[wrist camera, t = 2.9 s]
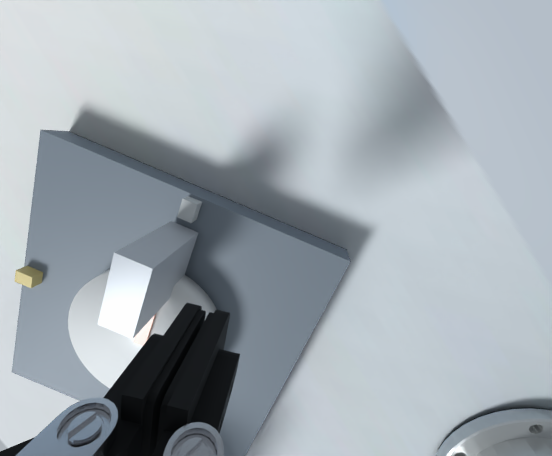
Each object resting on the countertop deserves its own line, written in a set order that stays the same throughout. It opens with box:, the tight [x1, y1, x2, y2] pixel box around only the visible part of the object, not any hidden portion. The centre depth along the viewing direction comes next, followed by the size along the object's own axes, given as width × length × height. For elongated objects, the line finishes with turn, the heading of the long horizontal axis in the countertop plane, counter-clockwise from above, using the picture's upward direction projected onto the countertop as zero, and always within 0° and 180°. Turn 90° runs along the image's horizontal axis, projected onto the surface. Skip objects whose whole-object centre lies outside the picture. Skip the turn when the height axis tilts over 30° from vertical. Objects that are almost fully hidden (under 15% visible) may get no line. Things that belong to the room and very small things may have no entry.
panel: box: [12, 130, 351, 456], centre depth 20 cm, size 20×20×3 cm
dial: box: [68, 221, 217, 388], centre depth 16 cm, size 13×10×5 cm
